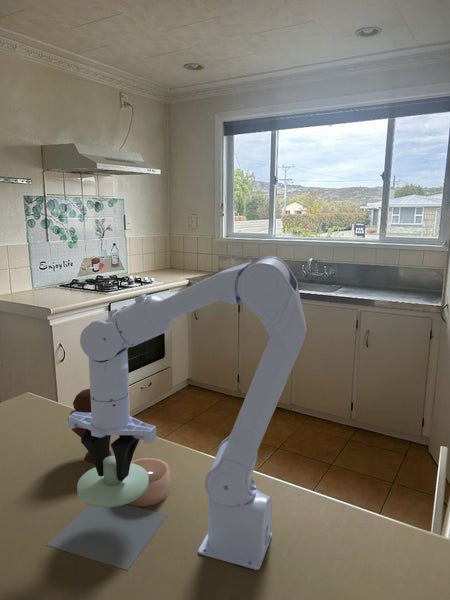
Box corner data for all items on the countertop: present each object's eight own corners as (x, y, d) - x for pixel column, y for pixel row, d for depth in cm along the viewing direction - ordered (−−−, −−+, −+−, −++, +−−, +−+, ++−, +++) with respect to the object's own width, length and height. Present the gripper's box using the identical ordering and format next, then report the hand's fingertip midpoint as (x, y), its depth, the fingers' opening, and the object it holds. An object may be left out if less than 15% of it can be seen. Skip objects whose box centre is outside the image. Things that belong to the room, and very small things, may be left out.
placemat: (168, 516, 75) (168, 514, 75) (127, 571, 64) (127, 570, 63) (97, 497, 80) (97, 496, 80) (47, 546, 68) (47, 545, 68)
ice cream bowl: (112, 474, 87) (109, 401, 84) (59, 467, 89) (55, 396, 86) (133, 446, 97) (131, 381, 94) (86, 441, 99) (82, 376, 97)
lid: (160, 473, 75) (160, 449, 74) (125, 514, 65) (124, 487, 64) (103, 461, 78) (102, 438, 78) (62, 498, 68) (60, 472, 67)
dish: (178, 482, 85) (178, 463, 84) (155, 511, 76) (154, 490, 75) (136, 473, 87) (135, 454, 87) (109, 500, 79) (108, 479, 78)
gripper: (53, 397, 67) (58, 479, 70) (138, 412, 63) (141, 499, 65) (82, 381, 74) (86, 457, 76) (161, 393, 69) (163, 473, 72)
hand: (113, 475), depth 71 cm, fingers closed on lid, 3 cm apart
